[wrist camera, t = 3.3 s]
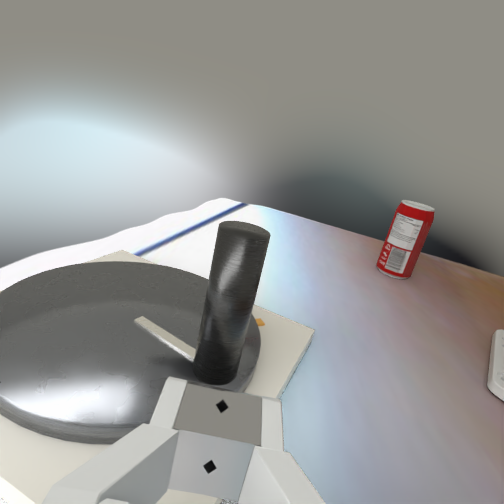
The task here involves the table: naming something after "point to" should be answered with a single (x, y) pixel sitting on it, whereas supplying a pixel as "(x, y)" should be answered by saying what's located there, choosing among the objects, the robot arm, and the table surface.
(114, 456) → the robot arm
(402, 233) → the soda can
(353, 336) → the table surface
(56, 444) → the dial base
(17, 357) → the dial
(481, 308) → the table surface
